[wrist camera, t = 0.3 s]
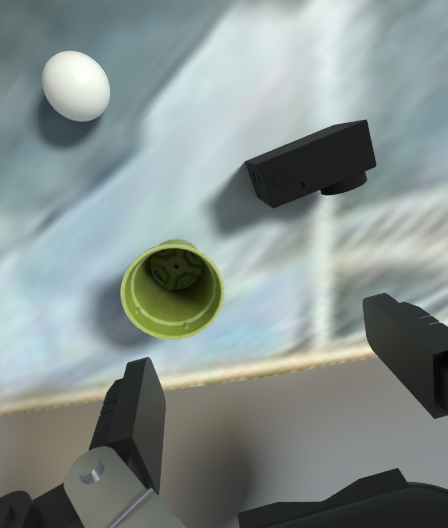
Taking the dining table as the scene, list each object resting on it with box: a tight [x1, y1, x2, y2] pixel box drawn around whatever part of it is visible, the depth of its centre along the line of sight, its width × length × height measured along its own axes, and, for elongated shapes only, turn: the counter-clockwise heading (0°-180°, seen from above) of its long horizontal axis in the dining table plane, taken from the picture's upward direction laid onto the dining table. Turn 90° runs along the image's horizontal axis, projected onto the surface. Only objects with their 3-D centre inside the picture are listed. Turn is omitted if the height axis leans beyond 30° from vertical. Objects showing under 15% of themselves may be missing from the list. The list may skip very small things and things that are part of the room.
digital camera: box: [245, 120, 376, 208], centre depth 34 cm, size 10×5×7 cm, turn 111°
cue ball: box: [42, 51, 110, 121], centre depth 30 cm, size 6×6×6 cm
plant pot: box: [120, 240, 224, 340], centre depth 35 cm, size 9×9×9 cm
